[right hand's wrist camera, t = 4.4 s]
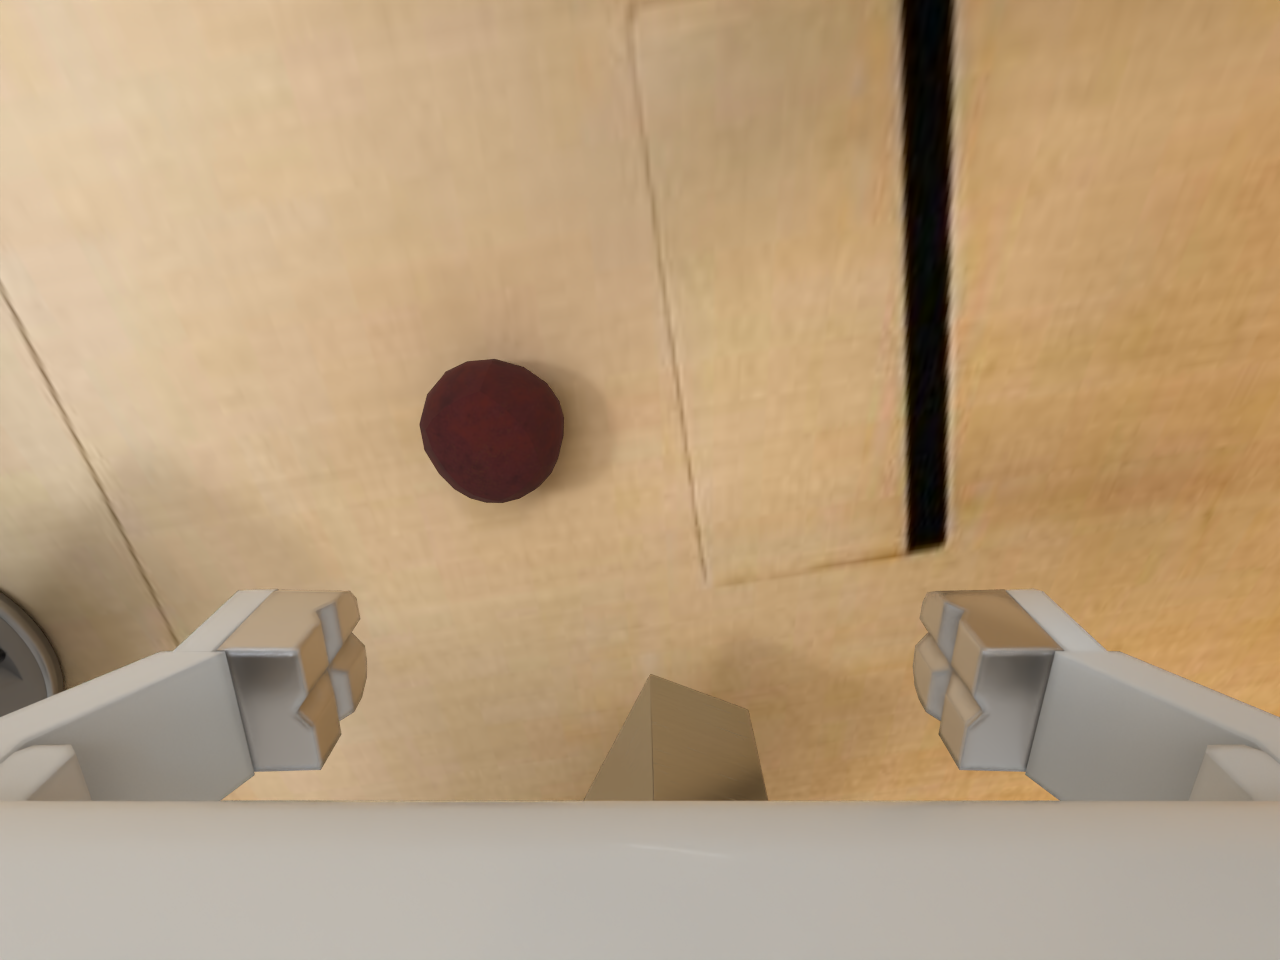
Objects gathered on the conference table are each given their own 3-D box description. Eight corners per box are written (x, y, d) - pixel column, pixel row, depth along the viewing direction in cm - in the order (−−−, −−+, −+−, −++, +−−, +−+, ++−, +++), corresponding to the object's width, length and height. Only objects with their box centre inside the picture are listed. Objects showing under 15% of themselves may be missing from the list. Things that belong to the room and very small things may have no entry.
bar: (650, 672, 38) (653, 814, 29) (748, 709, 39) (781, 857, 30) (483, 988, 46) (447, 1171, 38) (567, 1012, 47) (550, 1197, 38)
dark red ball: (503, 496, 43) (478, 547, 37) (414, 397, 41) (370, 433, 34) (597, 425, 42) (588, 465, 35) (509, 319, 39) (483, 340, 33)
